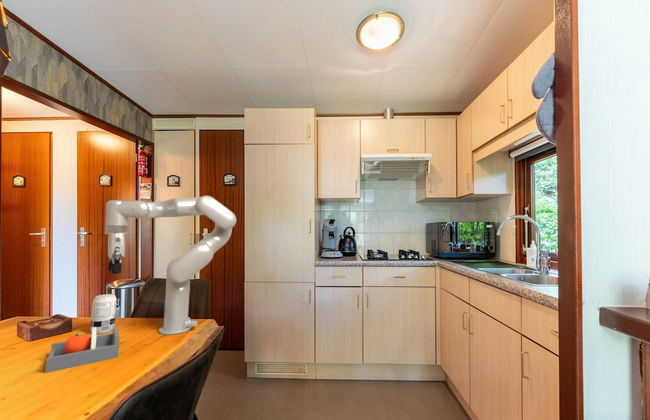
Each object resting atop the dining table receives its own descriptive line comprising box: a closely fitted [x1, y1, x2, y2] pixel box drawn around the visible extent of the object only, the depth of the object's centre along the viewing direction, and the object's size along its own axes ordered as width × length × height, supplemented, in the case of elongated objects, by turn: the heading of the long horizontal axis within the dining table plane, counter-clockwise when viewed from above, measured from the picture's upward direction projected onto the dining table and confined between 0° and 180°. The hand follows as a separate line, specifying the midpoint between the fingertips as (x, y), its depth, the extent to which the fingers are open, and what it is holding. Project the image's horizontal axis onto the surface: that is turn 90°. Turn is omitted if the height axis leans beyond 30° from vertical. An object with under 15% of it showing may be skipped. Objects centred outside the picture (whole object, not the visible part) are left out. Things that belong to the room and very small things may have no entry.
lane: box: [44, 325, 120, 374], centre depth 97 cm, size 18×15×7 cm
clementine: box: [64, 331, 91, 354], centre depth 96 cm, size 8×7×7 cm
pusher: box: [90, 327, 97, 350], centre depth 98 cm, size 1×12×7 cm, turn 39°
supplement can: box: [89, 293, 118, 335], centre depth 121 cm, size 8×8×15 cm
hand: (114, 272), depth 114 cm, fingers open, 9 cm apart
